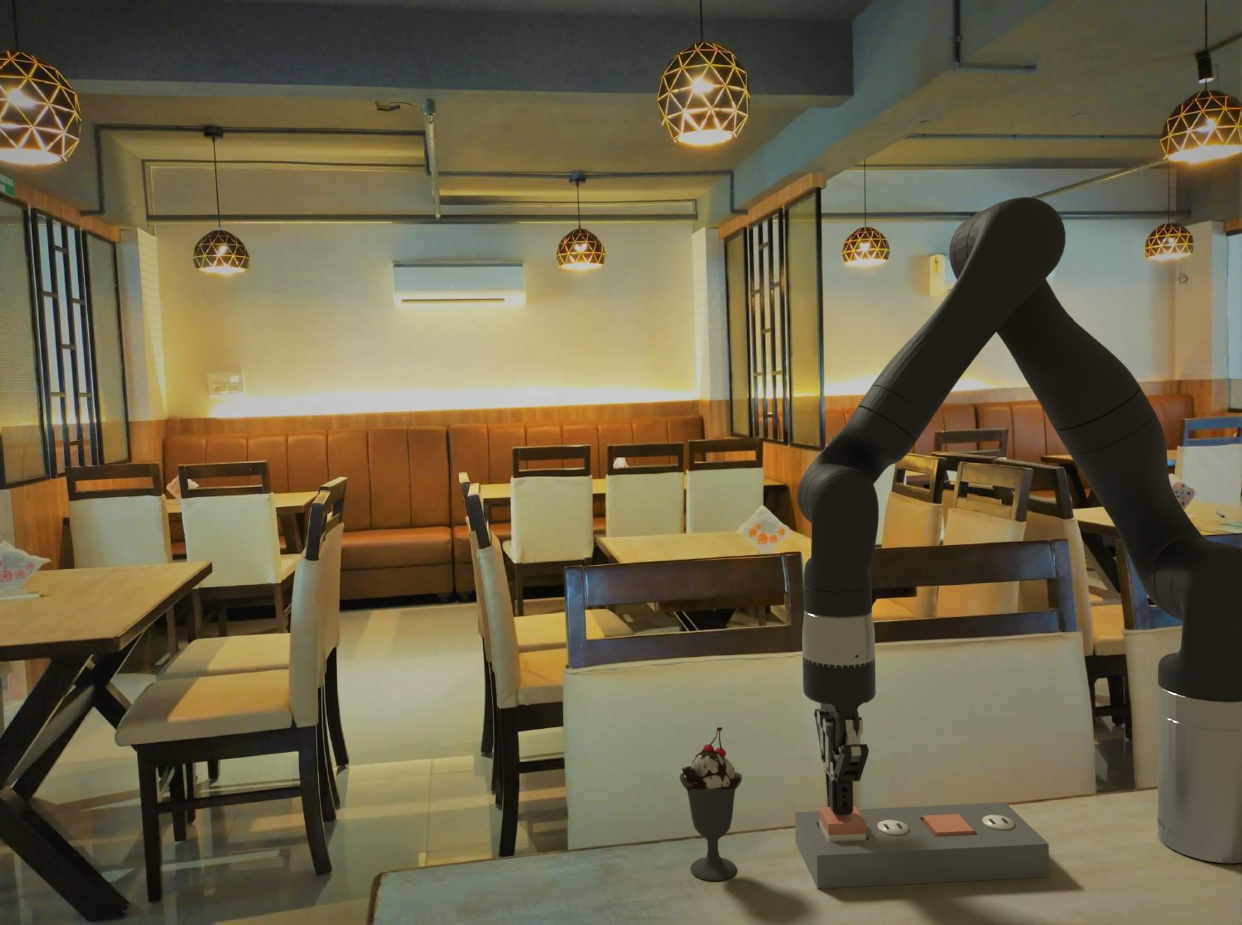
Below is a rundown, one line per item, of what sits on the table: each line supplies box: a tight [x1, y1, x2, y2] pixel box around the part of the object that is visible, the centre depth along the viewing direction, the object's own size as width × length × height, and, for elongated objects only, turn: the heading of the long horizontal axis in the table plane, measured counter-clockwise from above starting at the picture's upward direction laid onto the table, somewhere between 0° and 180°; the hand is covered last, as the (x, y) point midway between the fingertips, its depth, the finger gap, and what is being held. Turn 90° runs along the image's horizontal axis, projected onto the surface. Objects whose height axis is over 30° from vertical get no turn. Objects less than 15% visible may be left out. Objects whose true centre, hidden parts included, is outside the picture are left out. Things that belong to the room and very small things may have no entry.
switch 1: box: [818, 805, 866, 842], centre depth 99 cm, size 4×4×2 cm
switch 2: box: [923, 814, 974, 837], centre depth 99 cm, size 4×4×2 cm
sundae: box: [679, 726, 743, 882], centre depth 98 cm, size 7×7×15 cm
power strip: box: [794, 801, 1050, 890], centre depth 99 cm, size 24×10×4 cm, turn 92°
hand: (841, 811), depth 99 cm, fingers closed
